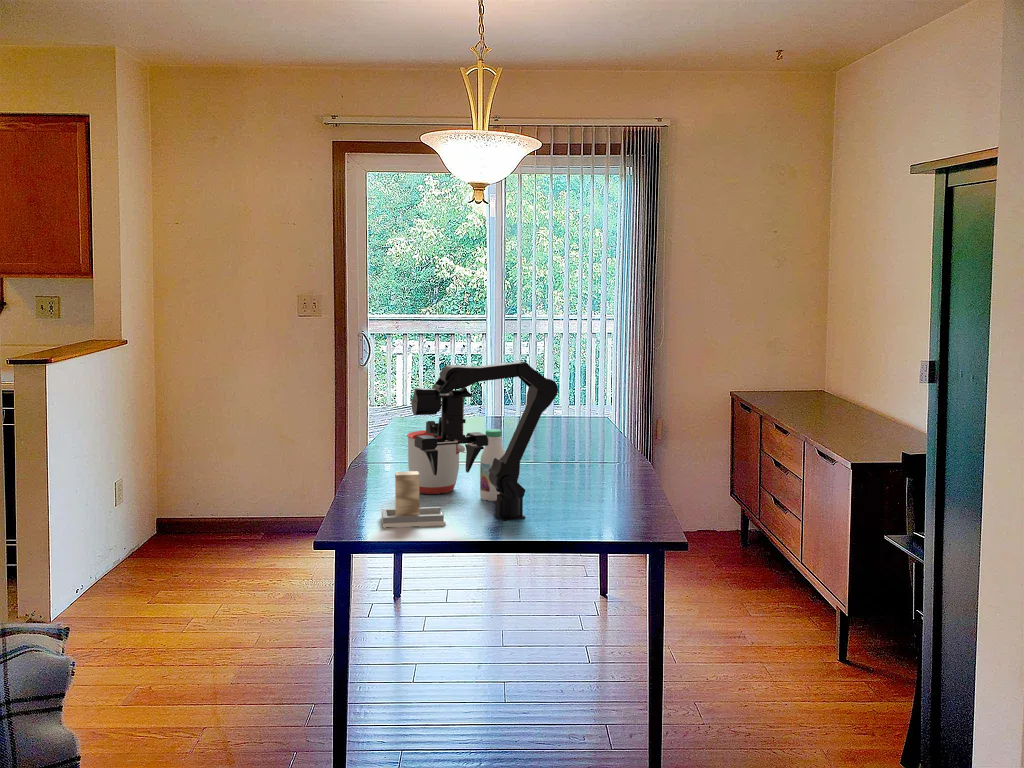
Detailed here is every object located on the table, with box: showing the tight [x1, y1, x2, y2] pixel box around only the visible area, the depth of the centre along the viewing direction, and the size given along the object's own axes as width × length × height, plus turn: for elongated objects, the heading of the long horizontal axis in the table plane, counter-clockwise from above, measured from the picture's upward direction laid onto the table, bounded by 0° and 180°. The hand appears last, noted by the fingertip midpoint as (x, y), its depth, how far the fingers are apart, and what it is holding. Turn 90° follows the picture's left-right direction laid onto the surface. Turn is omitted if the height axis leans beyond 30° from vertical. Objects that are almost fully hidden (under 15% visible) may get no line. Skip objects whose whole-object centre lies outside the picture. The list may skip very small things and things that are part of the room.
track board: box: [381, 506, 446, 529], centre depth 249 cm, size 16×10×2 cm, turn 100°
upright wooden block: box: [394, 470, 420, 516], centre depth 248 cm, size 6×4×12 cm, turn 100°
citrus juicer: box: [406, 429, 466, 495], centre depth 281 cm, size 16×17×20 cm
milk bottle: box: [479, 428, 506, 502], centre depth 272 cm, size 8×8×20 cm
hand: (451, 473), depth 246 cm, fingers open, 9 cm apart
